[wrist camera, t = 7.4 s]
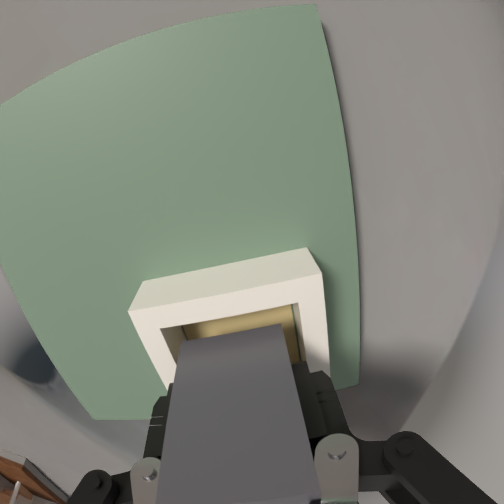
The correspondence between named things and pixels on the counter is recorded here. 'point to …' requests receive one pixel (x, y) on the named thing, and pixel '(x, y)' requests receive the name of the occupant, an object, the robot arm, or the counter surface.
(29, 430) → the counter surface
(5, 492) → the white tall box
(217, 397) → the plug
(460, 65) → the counter surface
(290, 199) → the board
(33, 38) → the counter surface
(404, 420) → the counter surface
